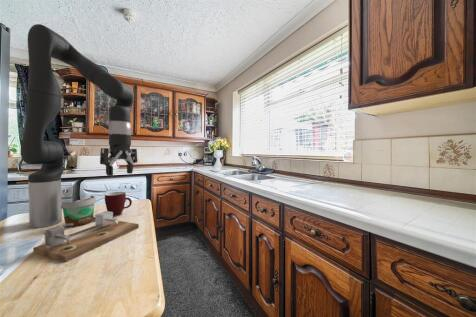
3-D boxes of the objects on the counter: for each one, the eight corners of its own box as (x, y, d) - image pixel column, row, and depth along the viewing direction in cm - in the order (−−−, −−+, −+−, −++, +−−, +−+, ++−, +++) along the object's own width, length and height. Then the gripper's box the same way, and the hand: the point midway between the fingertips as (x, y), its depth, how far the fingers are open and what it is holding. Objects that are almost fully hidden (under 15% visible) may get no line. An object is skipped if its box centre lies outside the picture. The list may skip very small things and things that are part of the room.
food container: (74, 230, 70) (73, 203, 70) (61, 228, 72) (60, 202, 71) (104, 219, 82) (103, 196, 82) (92, 217, 84) (91, 195, 83)
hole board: (33, 252, 55) (32, 230, 55) (111, 223, 78) (111, 207, 77) (65, 262, 51) (65, 238, 50) (138, 227, 73) (138, 211, 73)
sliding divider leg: (95, 225, 69) (95, 214, 69) (106, 221, 73) (105, 210, 73) (112, 228, 67) (111, 216, 67) (122, 224, 71) (122, 213, 70)
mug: (129, 210, 95) (129, 190, 95) (133, 214, 89) (133, 193, 89) (103, 214, 88) (103, 193, 88) (106, 219, 82) (106, 196, 82)
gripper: (128, 135, 83) (128, 172, 84) (94, 131, 69) (95, 176, 70) (142, 135, 80) (141, 173, 81) (109, 131, 67) (109, 177, 68)
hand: (120, 174), depth 76 cm, fingers open, 8 cm apart
